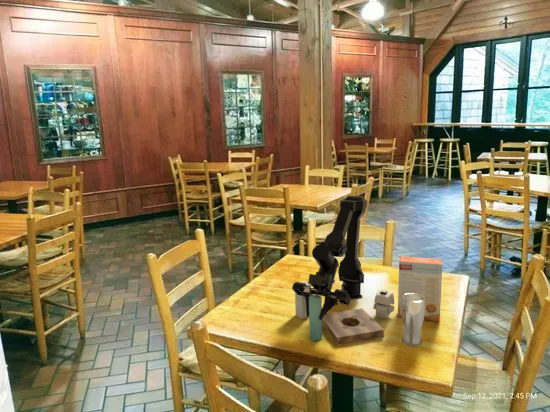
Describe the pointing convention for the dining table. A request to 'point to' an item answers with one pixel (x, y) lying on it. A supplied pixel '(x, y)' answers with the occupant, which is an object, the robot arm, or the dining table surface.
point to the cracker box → (421, 283)
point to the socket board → (346, 334)
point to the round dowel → (315, 317)
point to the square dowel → (301, 304)
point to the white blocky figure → (383, 303)
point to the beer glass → (412, 318)
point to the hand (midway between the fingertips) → (313, 318)
